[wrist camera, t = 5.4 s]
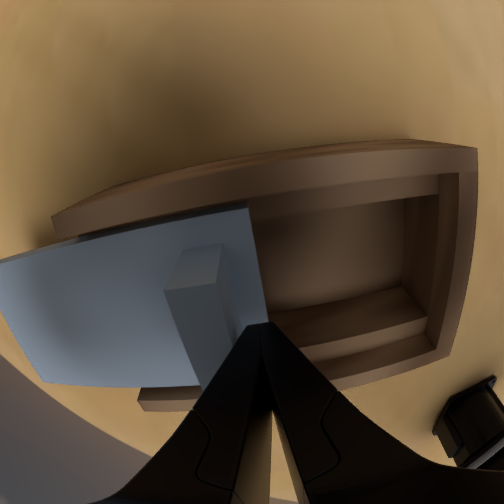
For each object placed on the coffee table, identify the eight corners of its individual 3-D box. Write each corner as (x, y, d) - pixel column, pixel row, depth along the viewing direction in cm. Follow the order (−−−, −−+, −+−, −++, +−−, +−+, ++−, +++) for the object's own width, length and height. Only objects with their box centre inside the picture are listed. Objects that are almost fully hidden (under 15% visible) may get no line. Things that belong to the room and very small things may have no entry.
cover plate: (247, 201, 9) (249, 236, 6) (275, 362, 11) (284, 425, 8) (-8, 262, 9) (-50, 294, 6) (49, 372, 12) (25, 413, 9)
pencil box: (411, 139, 11) (477, 148, 7) (408, 304, 15) (449, 355, 10) (108, 188, 12) (50, 216, 7) (163, 347, 15) (144, 411, 11)
